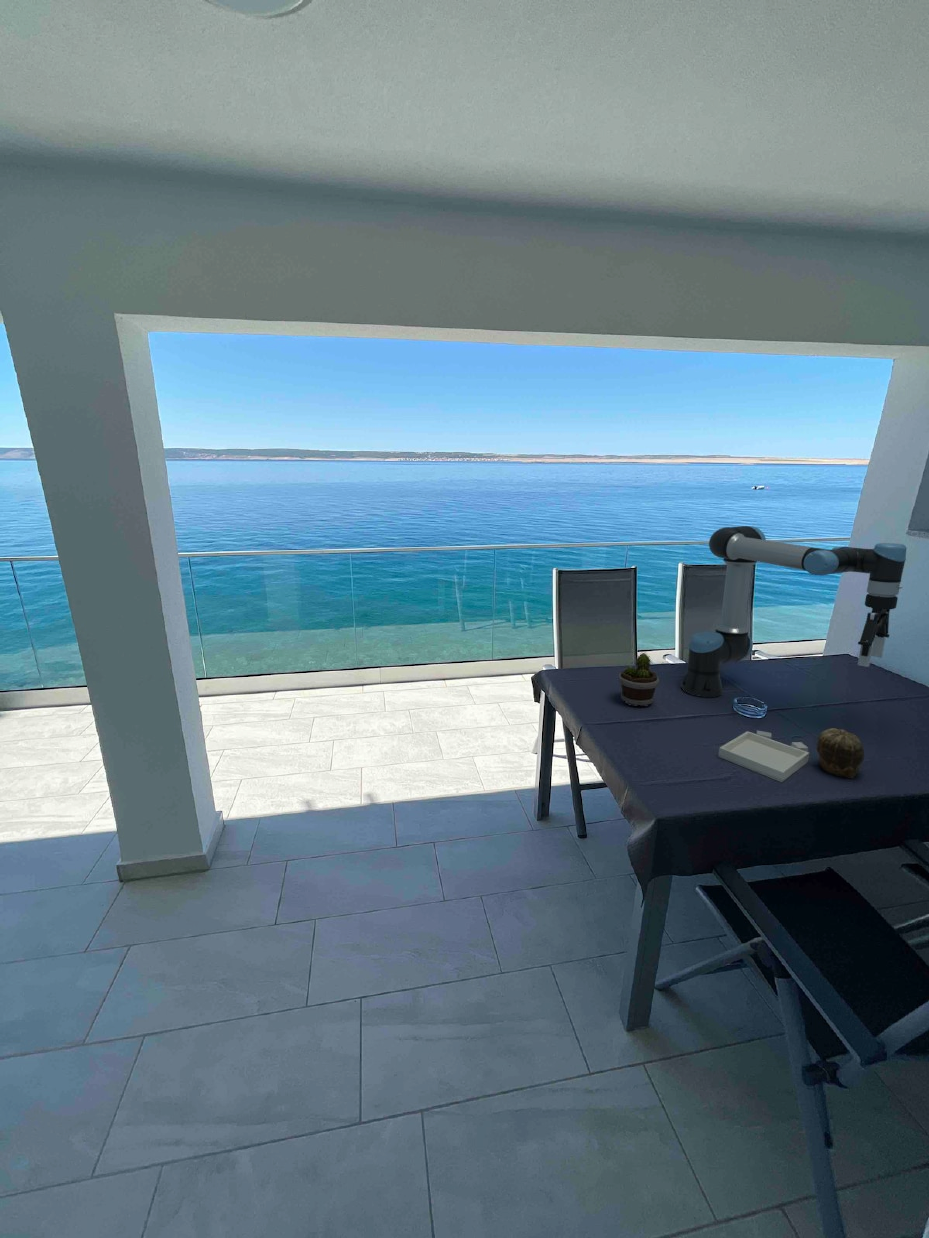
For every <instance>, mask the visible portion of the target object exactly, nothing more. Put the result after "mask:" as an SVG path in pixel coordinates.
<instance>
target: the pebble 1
mask: <svg viewBox="0 0 929 1238" xmlns="http://www.w3.org/2000/svg"><path fill="white" fill-rule="evenodd" d="M756 734H757V735H760V736H763V737H766V738H768V739H771V740H772V733H771V732H768V731H763V730H756Z"/></svg>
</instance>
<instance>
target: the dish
mask: <svg viewBox="0 0 929 1238" xmlns="http://www.w3.org/2000/svg"><path fill="white" fill-rule="evenodd" d="M717 756H718V758H720V759H722V760H726V761H728V762H730V763H733V764H735V765H738V766H740V767H743V768H745V769H747V770H750V771H753V772H756V773H757V774H760V775H763V776H765V777H768V778H770V779H772V780H775V781H777V782H780V783H784V781H785V780H787V779H788V778H790V777H791V776H792V775H793V774H794V773H796V772H797V771H798V770H800V769H801V768H802V767H803V766H805V765H806V764H808V762H809V757H810V752H809V751H808V752H806V751H803V750H800V749H797V748H794V747H791V745H788V744H785V743H782V742H781V741H780V742H779V741H777V740H773V739H772V738H771V739H768V738H766V737H763V736H760V735H757V733H754V732H751V731H747V730H746V731H745V732H744V733H742V734H740V735H738V736H737V737H736V738H734V739H732V740H731V741H728V742H727V743H725V744H723V745H721V746H719V748H718V755H717Z"/></svg>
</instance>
